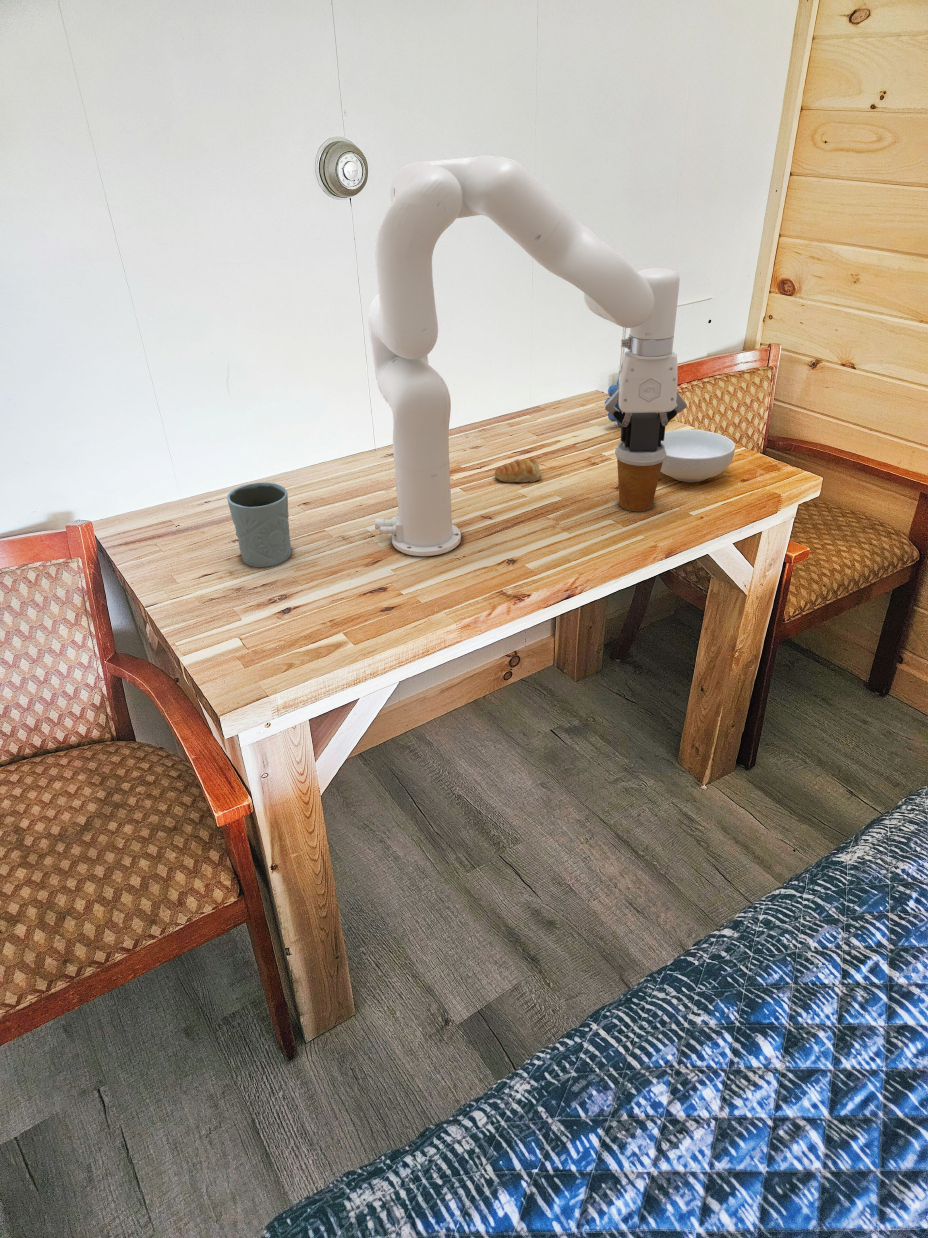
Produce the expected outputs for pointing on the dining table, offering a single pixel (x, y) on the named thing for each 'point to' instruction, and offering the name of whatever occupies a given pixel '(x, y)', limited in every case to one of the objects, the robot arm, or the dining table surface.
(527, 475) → the pastry
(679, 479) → the cereal bowl
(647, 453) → the disposable coffee cup
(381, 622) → the dining table surface
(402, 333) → the robot arm
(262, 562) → the grey embossed cup
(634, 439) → the black block
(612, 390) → the grapes
